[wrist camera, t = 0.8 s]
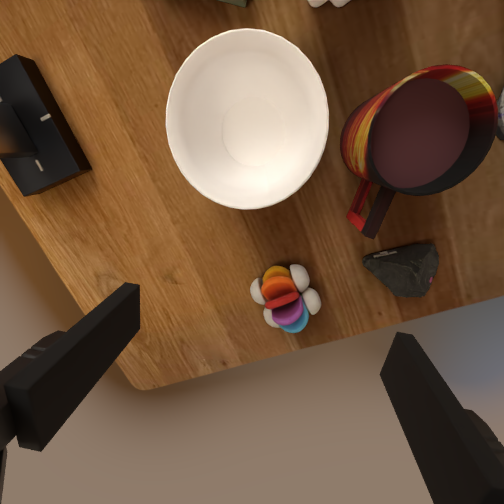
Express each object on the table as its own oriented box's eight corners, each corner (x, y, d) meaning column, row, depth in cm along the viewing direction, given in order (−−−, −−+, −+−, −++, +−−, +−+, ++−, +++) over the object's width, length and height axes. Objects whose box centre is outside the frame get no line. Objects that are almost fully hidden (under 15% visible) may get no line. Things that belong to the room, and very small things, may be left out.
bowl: (296, 31, 30) (299, -11, 22) (334, 172, 35) (348, 179, 27) (171, 92, 34) (136, 75, 26) (220, 212, 39) (204, 229, 31)
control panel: (-24, 94, 37) (-46, 90, 34) (34, 59, 34) (14, 52, 32) (38, 194, 41) (22, 197, 38) (93, 169, 38) (80, 170, 36)
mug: (344, 218, 37) (370, 248, 26) (336, 104, 32) (364, 81, 21) (422, 206, 35) (486, 234, 24) (425, 85, 31) (505, 49, 20)
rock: (370, 297, 40) (382, 316, 36) (359, 255, 38) (369, 270, 34) (437, 279, 38) (458, 297, 34) (429, 235, 36) (450, 247, 32)
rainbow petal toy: (298, 251, 39) (301, 272, 33) (324, 305, 42) (332, 335, 35) (246, 273, 41) (238, 298, 35) (274, 323, 44) (272, 355, 37)
